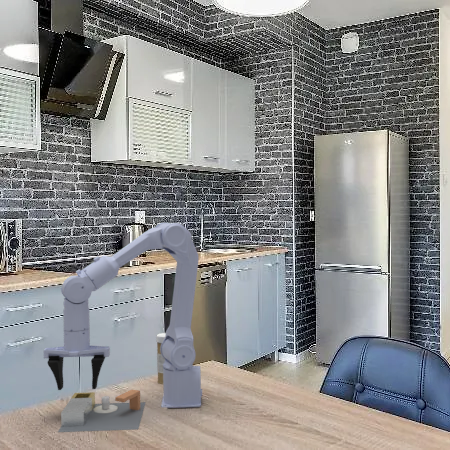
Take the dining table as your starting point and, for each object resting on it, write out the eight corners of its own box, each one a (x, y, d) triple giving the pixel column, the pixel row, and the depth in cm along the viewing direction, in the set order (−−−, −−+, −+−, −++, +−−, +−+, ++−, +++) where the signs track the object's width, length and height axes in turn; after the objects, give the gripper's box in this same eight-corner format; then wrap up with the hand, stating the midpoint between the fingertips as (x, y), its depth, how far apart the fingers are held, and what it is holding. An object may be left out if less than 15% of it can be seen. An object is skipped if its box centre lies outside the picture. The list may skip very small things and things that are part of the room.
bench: (145, 403, 135) (145, 390, 135) (138, 431, 118) (138, 416, 118) (75, 406, 134) (74, 392, 134) (57, 433, 117) (57, 418, 117)
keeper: (132, 409, 132) (131, 389, 132) (140, 410, 131) (140, 390, 130) (115, 417, 126) (115, 397, 126) (124, 419, 125) (123, 398, 125)
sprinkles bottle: (168, 379, 155) (167, 331, 154) (177, 383, 151) (176, 334, 151) (154, 383, 152) (153, 334, 151) (163, 386, 148) (162, 336, 148)
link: (74, 405, 134) (74, 392, 134) (95, 404, 134) (94, 392, 134) (61, 426, 120) (61, 412, 120) (83, 425, 121) (83, 412, 120)
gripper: (39, 333, 122) (40, 394, 122) (106, 331, 122) (106, 393, 123) (47, 326, 129) (48, 384, 129) (110, 325, 129) (111, 383, 130)
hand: (77, 388), depth 126 cm, fingers open, 7 cm apart
